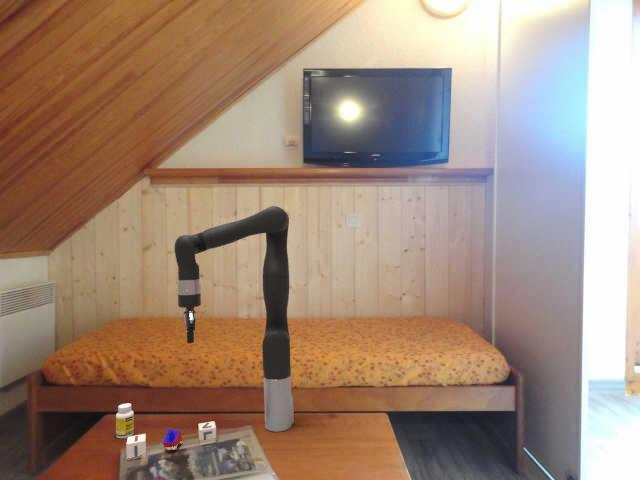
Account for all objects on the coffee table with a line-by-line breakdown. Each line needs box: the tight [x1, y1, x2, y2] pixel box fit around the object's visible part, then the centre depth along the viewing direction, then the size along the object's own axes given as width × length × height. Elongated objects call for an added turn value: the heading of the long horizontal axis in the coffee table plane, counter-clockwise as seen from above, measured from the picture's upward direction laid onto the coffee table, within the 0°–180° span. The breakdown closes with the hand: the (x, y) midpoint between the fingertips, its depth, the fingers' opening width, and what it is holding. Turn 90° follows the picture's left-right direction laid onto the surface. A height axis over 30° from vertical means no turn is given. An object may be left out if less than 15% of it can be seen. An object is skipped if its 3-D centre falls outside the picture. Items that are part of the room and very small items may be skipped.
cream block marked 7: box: [198, 420, 217, 441], centre depth 128 cm, size 5×5×5 cm
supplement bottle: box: [115, 402, 135, 439], centre depth 133 cm, size 5×5×10 cm
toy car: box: [162, 428, 183, 448], centre depth 123 cm, size 4×4×8 cm
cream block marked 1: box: [125, 433, 147, 460], centre depth 120 cm, size 5×5×5 cm
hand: (190, 342), depth 139 cm, fingers closed
